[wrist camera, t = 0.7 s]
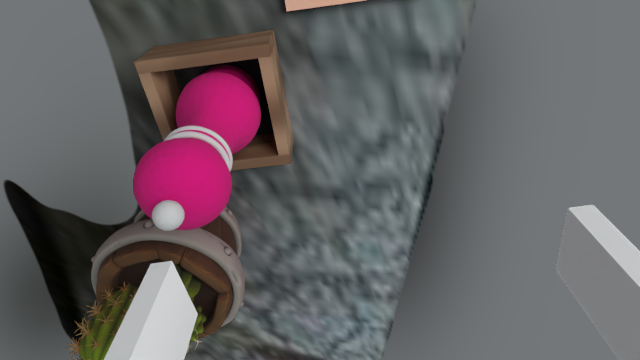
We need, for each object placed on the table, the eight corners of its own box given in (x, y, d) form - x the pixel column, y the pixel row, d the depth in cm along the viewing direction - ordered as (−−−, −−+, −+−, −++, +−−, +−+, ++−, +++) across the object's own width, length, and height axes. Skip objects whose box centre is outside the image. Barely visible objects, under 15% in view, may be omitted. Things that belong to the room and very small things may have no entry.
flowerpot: (252, 170, 44) (213, 324, 27) (258, 272, 52) (230, 438, 35) (117, 166, 43) (-8, 320, 27) (144, 269, 52) (61, 436, 35)
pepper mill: (226, 42, 37) (151, 143, 20) (281, 100, 40) (255, 230, 23) (175, 91, 39) (69, 219, 22) (230, 142, 42) (173, 288, 25)
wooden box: (154, 46, 37) (133, 62, 32) (273, 30, 36) (267, 44, 32) (190, 151, 43) (177, 176, 38) (293, 139, 42) (291, 163, 38)
